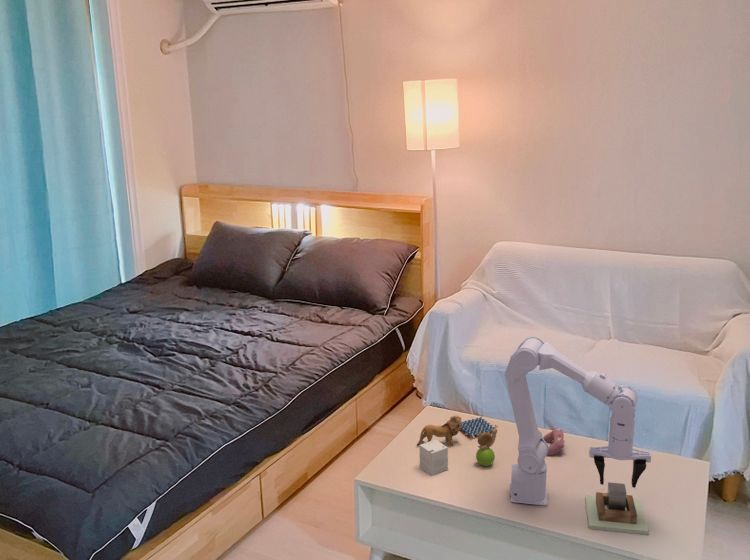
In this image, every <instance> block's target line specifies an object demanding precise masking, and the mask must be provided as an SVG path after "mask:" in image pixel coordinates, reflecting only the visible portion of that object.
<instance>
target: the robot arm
mask: <svg viewBox="0 0 750 560" xmlns="http://www.w3.org/2000/svg"><path fill="white" fill-rule="evenodd" d="M508 361H509V362H508V364H507V365H506V366H507V367H506V368H505V371H504V377H505V381H506V387H507V391H508V395H509V400H510V404H511V408H512V413H513V416H514V420H515V425H516V429H517V432H518V445H517V451H518V456H517V463H515V464H513V463H512V464H511V473H510V475H511V476H510V477H511V480H510V483H509V491H510V503H515V504H516V503H517V504H525V505H534V506H535V505H536V506H546V507H547V505H548V489H547V472H548V469H547V467H548V466H547V463H546V460H545V459H546V457H547V456H548V455H547V454H548V452H549V445H548V442H545V440H544V439H543V437H544V436H543V432H541V431H540V430H539V428H538V424H537V418H536V416H535V411H534V406H533V402H532V397H531V393H530V389H529V385H528V381H527V374H528V373H531V372H533V370H535V369H536V368H537V367H538V366H539V368H538V370H539V371H543V370H549V369H550V370H551V369H554V370H556V371H557V372H559V373H561V374H563V375H564V376H566V377H568V378H570V379H571V380H574V381H576V382H577V383H580V385H581V387H582V389H583V392H585V393H587V394H588V395H590V396H591V397H594V398H595V400H598V401H600V402H601V403H603V404H605V405H606V406H609V407H608V408H609V410H610V412H611V416H610V419H609V431H608V432H609V433H608V443H607V444H608V445H606V446H597V447H596V446H591V447H590V446H589V448H588V450H589V452H588V454H589V455H588V456H589V458H591V459H593V462H594V464H595V467H596V469H597V471H598V476H599V483H600V485H603V486H604V483H605V479H604V475H605V474H604V473H605V467H606V464H605V458H607V459H613V460H618V461H632V462H633V463H632V475H631V487H632V488H634V489H636V486H637V483H638V480H639V479H640V477H641V475H642V474H643V473H644V472H645V470H646V469H647V463H651V462H652V454H651V452H650V451H644V450H640V449H635V448H633V444H634V435H635V422H636V420H635V416H636V414H635V412H636V405H637V403H638V395H637V393H636V392H635V390H634V389H633V388H632V387H630V386H629V385H628V386H627V385H622V384H617V383H616V382H614V381H613V380H611V379H609V378H608V377H606V373H604V372H603V371H602V372H600V373H599V372H597V371H596V370H595V371H587V370H586V369H584V368H583V367H581V366H580V365H579V364H577V363H576V362H575V361H573V360H571V359H570V358H569V357H567V356H565V355H564V354H563V353H561V352H559V351H558V350H557V349H555V347H553V345H551V343H549V342H546V341H545V342H544V340H542V339H541V338H540V337H537V336H530V337H527V338H526V339H524V340H523V341H522V342H521V343H520V344H519V346H517V348H516V350H515V351H514V352H513V354H511V356H510V358H509V360H508Z"/></svg>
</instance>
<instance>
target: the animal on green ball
mask: <svg viewBox="0 0 750 560" xmlns="http://www.w3.org/2000/svg"><path fill="white" fill-rule="evenodd" d="M494 427H495V428H494V429H493V430H492V432H493V433H492V435H491V434H490V433H487V432H484V433H482V434H480V435H479V437H478V436H477V437H478V438H477V444H478V446H477V447H478V450H477V451H476V453H475V459H476V461H477V463H478V464H480V465H481V466H484V467H488V466H490V465H492V464H493V463H494V461H495V458H496V455H495V452H494V450H493V449H492V448H490V447H493V445H494V443H495V441H496V436H497V433H498V425H497V424H494Z"/></svg>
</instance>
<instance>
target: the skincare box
mask: <svg viewBox="0 0 750 560" xmlns="http://www.w3.org/2000/svg"><path fill="white" fill-rule="evenodd" d="M448 450H449V449H448V446H447V445H445V444H443V443H441V442H440V441H439V440H437V439H433V440H431V441H430V442H425V443H424V444H421V443H420V445H419V468H421V469H422V470H423V471H425V472H426V473H428V474H429V475H430V476H434V475H437V474H440V473H441V472H445V471H447V470H449V466H448V465H449V464H448V463H449V461H448V460H449V459H448V458H449V454H448V453H449V451H448Z"/></svg>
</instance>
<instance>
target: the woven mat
mask: <svg viewBox="0 0 750 560" xmlns="http://www.w3.org/2000/svg"><path fill="white" fill-rule="evenodd" d="M493 429H495V426H494V425H492V424H491V423H490V422H488V421H487V420H485V419H484V418H483V417H482V416H481V417H476V418H471V419H468V420H463V421H462V426H461V429H460V430H459V432H460V433H461V434H463V435H464V437H466V438H467V439H468V440H470V441H472V439H473V440H474V439H478V437H479V435H480V434H482V433H484V432H487V433H490V434H491V436H492V434H493V432H492V430H493Z"/></svg>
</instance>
